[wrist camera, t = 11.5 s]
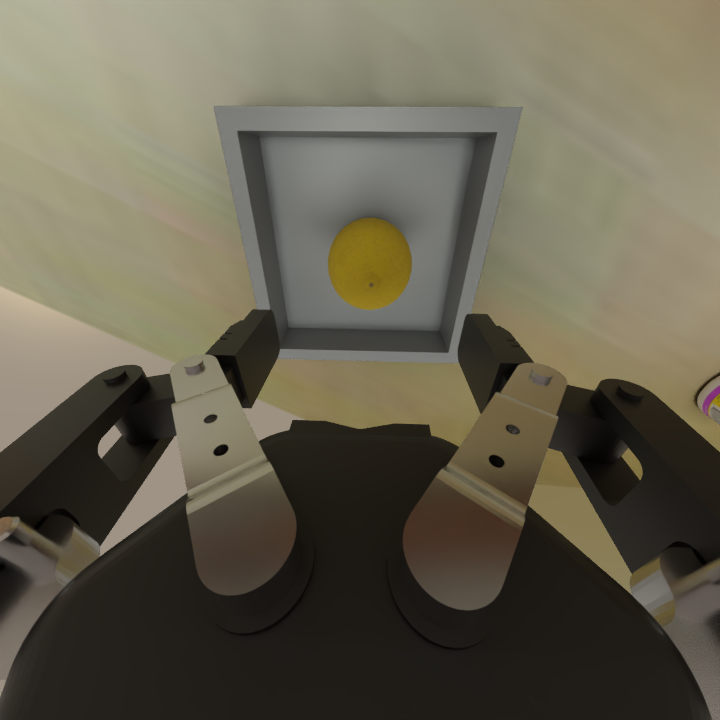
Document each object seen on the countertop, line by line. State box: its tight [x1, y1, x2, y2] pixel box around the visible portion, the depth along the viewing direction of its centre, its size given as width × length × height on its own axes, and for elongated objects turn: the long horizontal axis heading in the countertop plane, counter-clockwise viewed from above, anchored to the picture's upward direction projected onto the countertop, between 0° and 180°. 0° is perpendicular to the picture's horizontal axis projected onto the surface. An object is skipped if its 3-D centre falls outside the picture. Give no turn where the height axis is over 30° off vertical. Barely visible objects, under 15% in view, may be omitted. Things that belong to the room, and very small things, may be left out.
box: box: [214, 106, 523, 363], centre depth 21 cm, size 16×16×4 cm
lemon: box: [328, 218, 412, 310], centre depth 19 cm, size 6×6×8 cm
